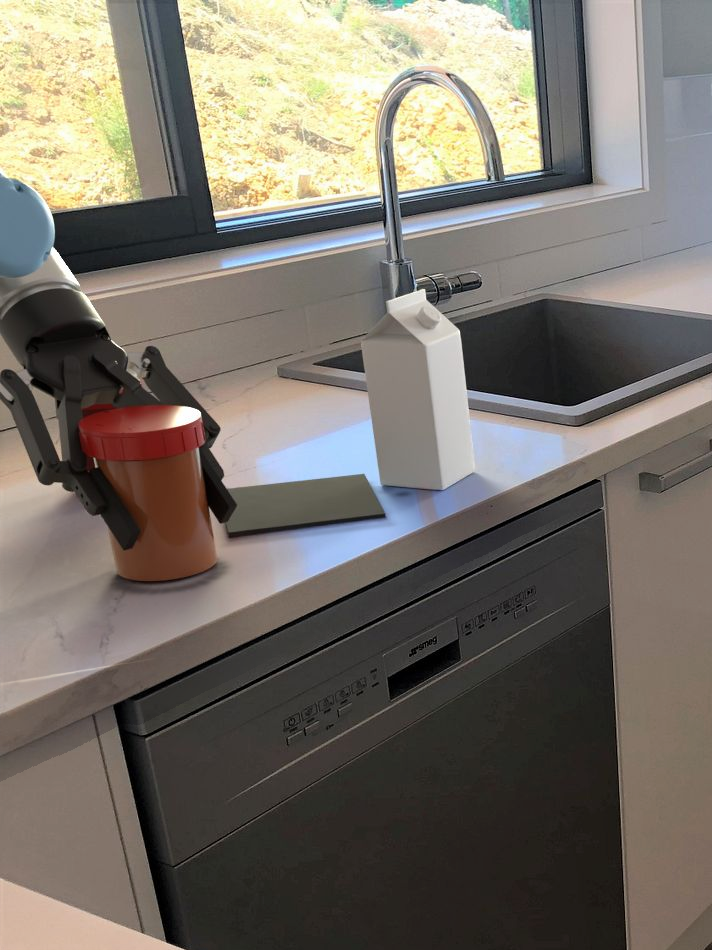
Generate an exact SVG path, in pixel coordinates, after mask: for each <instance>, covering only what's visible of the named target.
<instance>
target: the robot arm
mask: <svg viewBox="0 0 712 950" xmlns="http://www.w3.org/2000/svg"><path fill="white" fill-rule="evenodd" d="M55 238H56V229H55V222H54V218H53V214H52V212H51V210H50V208H49V206H48V204H47V202H46V201H45V199H44V198H43V197H42V196H41V194H40V193H38V191H37V190H36V189H35V188H33V187H32V186H31V185H29V184H27V183H25V182H23V181H21V180H18V179H16V178H13V177H12V178H11V177H8V176H7V174H6V173H5V171H3V169H2V168H1V167H0V336H1V338H2V340H3V341H4V343H5V344H6V345H7V347H8V349H9V350H10V352H11V353H12V355H13V357H14V358H15V360H16V362H18V364H19V365H20V366H21V367H22V368H23V369H21V370H18V371H14V370H12V369H9V368H5V369H2V370H1V371H0V401H1V402H2V403H3V404H4V405H5V406H6V408H7V409H8V410H9V412H10V413H11V416H12V418H13V421H14V424H15V426H16V429H17V431H18V434H19V436H20V438H21V441H22V444H23V446H24V448H25V451H26V454H27V456H28V459H29V461H30V463H31V466H32V469H33V471H34V473H35V475H36V478H37V480H38V482H39V483H40V484H41V485H43V486H53V484H54V483H56V484H61V486H62V488H63V490H64V491H66V492H69V493H73V492H74V494H75V495H76V497H77V498H78V500H79V502H80V503H81V504H82V506H83V508H84V509H85V511H86V512H87V513H88V514H90V515H91V516H92V517H96V516H101V518H102V520H103V521H104V523H105V524H106V527H107V526H108V527H109V529H110V530H111V532H112V533H113V535H114V537H115V538H116V540H117V541H118V543H119V544H120V546H121V547H122V549H123V551H125V550H128V549H132V548H133V546H134V544H135V542H136V540H137V538H138V536H139V534H140V532H141V530H140V529H139V527H138V526H137V524H136V523H135V521H134V519H133V518H132V516H131V515H130V513H129V512H128V510H127V509H126V507H125V506H124V504H123V502H122V501H121V499H120V498H119V496H118V495H117V493H116V492H115V490H114V488H113V487H112V485H111V484H110V482H109V481H108V479H107V478H106V476H105V475H104V473H103V472H102V470H101V468H100V467H97V468H92V469H90V471H89V472H88V470H87V458H86V454H85V453H84V452H83V450H82V445H81V440H80V435H79V432H80V431H79V426H78V423H79V421H80V420H81V419H83V418H82V408H87V407H89V406H91V405H93V404H108V403H110V404H112V405H113V406H114V407H116V408H124V407H132V406H144V405H175V406H184V407H189V408H193V409H196V410H198V411H199V412H200V413H201V417H202V422H203V427H204V433H205V439H206V441H205V442H204V444H203V445H202V446H200V447H199V453H200V459H201V464H202V470H203V476H204V482H205V488H206V494H207V500H208V506H209V510H210V511H211V513H212V514H213V515H214V517H215V519H216V520H217V522H218V524H219V525H221V524H224V523H225V524H226V522H228V521H229V519H230V517H231V515H232V514H233V512H234V510H235V509H236V507H237V504H236V502H235V501H234V499H233V498H232V496H231V495H230V493H229V492H228V490H227V489H228V488H227V487H226V486H225V484H224V483H223V481H222V480H223V479H224V477H225V471H224V469H223V467H222V466H221V465H220V462H219V461H218V460H217V458H216V457H215V455H214V453H213V452H212V451H211V448H213V446H214V444H215V442H216V440H217V438H218V436H219V435H220V433H221V431H222V429H221V426H220V424H219V423H218V422H217V421H216V420H215V419H214V418H213V417H212V416H211V414H209V413H208V412H207V410H206V409H205V408H204V406H202V404H200V403H199V401H198V400H197V399H196V398H195V397H194V396H193V395H192V393H190V391H189V390H188V389H187V388H186V387H185V385H183V383H182V382H181V381H180V380H179V379H178V378H177V376H176V375H175V374H174V373H173V372H172V371H171V370H170V369H169V368H168V366H167V365H166V362H165V361H164V358H163V356H162V353H161V351H160V349H159V348H157V347H156V346H154V345H147V346H146V347H145V349H144V351H141V352H139V351H137V352H126V351H125V350H124V349H123V348H122V347H121V346H119V345H118V344H116V343H115V342H114V341H113V340H112V338H111V336H110V333H109V331H108V328H107V326H106V324H105V322H104V321H103V320H102V318H101V317H100V315H99V313H98V312H97V311H96V309H95V308H94V306H93V305H92V303H91V301H90V299H89V298H88V297H87V296H86V294H84V293H83V290H82V288H81V285H80V284H79V282H78V281H77V279H76V278H75V276H74V274H73V273H72V272H71V270H70V269H69V267H68V265H66V263H65V261H64V260H63V259H62V257H61V256H60V254H59V252H57V250H56V249H55V247H54V244H55ZM127 368H129V369H132V370H133V371H134V372H135V373H136V374H137V378H138V379H141V382H142V380H143V382H144V383H145V385H146V387H147V388H148V389H149V390H150V392H151V393H150V392H149V391H147V390H146V389H145V388H144V387H143V383H142V384H141V382H140V381H139V380H138V379H136V378H135V377H134V376H133V375H131V374H130V373H129V372H127V371H126V370H127ZM122 388H124V391H123V393H122V394H121V390H122ZM33 389H37V390H38V391H40V392H42V393H44V394H46V395H47V396H49V397H51V398H53V399H54V405H55V406H54V407H55V417H56V419H57V421H58V431H59V441H60V443H59V444H60V452H61V458H60V456H59V454H58V452H57V448H56V446H55V444H54V442H53V439H52V437H51V434H50V432H49V430H48V427H47V425H46V423H45V420H44V417H43V415H42V413H41V410H40V408H39V405H38V403H37V400H36V398H35V396H34V393H33ZM152 394H153V395H152ZM108 527H107V528H108Z"/></svg>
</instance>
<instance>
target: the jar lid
mask: <svg viewBox="0 0 712 950" xmlns="http://www.w3.org/2000/svg"><path fill="white" fill-rule="evenodd" d="M78 426H79V431H80V432H79V435H80V440H81V445H82V450H83V452H84V453H85V454H86V455H88V456H90V457H93V458H98V459H104V460H118V461H131V460H147V459H156V458H163V457H169V456H174V455H178V454H182V453H185V452H189V451H191V450H194V449H196V448H198V447H200V446H202V445H203V444H204V442H205V441H206V439H205V433H204V427H203V422H202V417H201V413H200V412H199V411H198V410H196V409H193V408H189V407H184V406H175V405H144V406H132V407H124V408H117V409H111V410H107V411H102V412H98V413H95V414H92V415H89V416H87V417H85V418H83V419H81V420H80V421H79V423H78Z"/></svg>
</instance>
